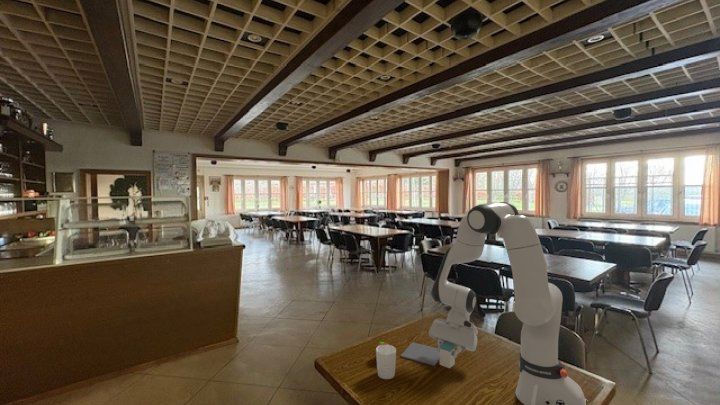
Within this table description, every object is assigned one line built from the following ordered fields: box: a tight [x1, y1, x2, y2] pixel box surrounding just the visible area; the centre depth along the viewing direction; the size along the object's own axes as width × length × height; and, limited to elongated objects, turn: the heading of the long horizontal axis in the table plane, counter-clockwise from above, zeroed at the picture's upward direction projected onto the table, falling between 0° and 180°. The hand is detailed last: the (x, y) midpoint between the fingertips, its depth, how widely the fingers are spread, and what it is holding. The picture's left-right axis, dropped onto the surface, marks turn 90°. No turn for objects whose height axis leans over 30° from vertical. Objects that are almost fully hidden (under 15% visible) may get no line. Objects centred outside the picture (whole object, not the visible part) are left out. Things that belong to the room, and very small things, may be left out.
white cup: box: [375, 344, 397, 380], centre depth 123 cm, size 8×8×10 cm
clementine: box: [376, 341, 390, 348], centre depth 135 cm, size 8×7×7 cm
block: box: [439, 342, 456, 369], centre depth 130 cm, size 4×4×8 cm
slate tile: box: [400, 341, 440, 367], centre depth 139 cm, size 15×14×1 cm
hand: (446, 353), depth 130 cm, fingers open, 5 cm apart
